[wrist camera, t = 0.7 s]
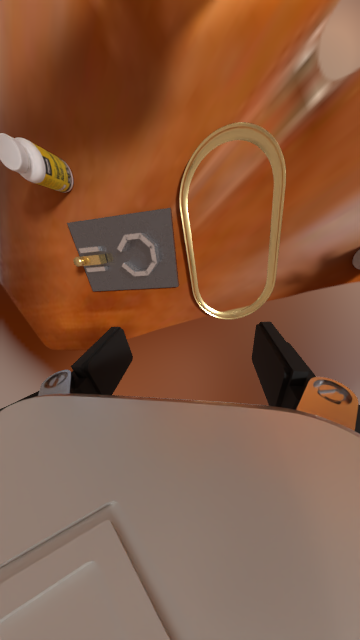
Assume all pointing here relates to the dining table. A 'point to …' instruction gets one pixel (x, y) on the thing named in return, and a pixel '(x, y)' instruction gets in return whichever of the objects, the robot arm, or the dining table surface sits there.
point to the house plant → (356, 260)
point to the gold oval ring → (277, 162)
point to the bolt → (90, 260)
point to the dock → (129, 250)
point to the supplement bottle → (35, 163)
